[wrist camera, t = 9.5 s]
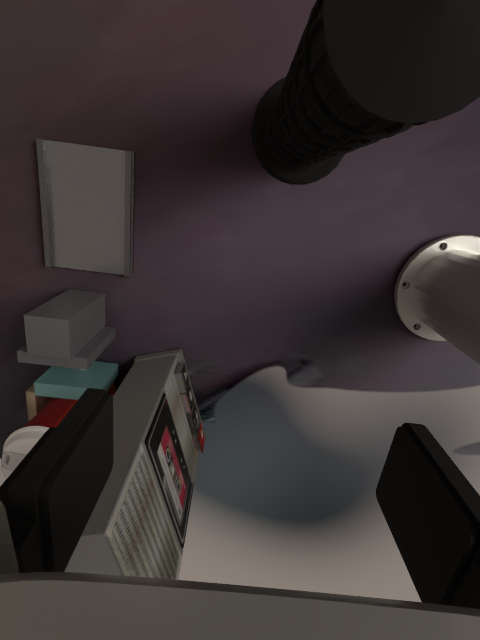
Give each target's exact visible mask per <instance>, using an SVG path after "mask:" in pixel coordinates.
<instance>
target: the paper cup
mask: <svg viewBox="0 0 480 640" xmlns="http://www.w3.org/2000/svg"><path fill="white" fill-rule="evenodd" d="M107 392H108V395H112V396H114V394H115V393H116V387H115V384H114V382H113V384H112V385H111V387H110V388H109V390H108V391H107ZM77 401H78V400H74V399H64V398H54V399H52V400H51V401H50V402H49V403H48V404H47V405H46V406H45V407H44V408H43V409H42V410H41V411H40V412H39V413H38V414H37V415H36V416H34V417H33V418H32V419H31V420H30V421H29V422H28V423H27V424H26V425H25V426H24V427H23V428H20V429H18V430H16V431H14V432H13V433H12V434H11V435H10V436H9V437H8V438H7V440H6V441H5V444H4V447H3V454H2V461H1V463H2V465H1V469H2V472H3V474H4V476H5V477H6V478H8V477H9V476H10V474H11V473H12V472H13V471H14V470H15V468H16V467H17V466H18V465H19V463H20V462H21V461H22V460H23V459H24V457H25V456H26V455H27V454H28V453H29V451H30V450H31V449H32V448H33V446H34V445H35V444H36V443H37V442H38V440H39V439H40V438H41V437H42V436H43V434H44V433H45V432H46V431H47V430H48V429H49V428H51V427H57V426H58V425H59V423H60V422H61V421H62V419H63V418H64V417H65V416H66V414H67V413H68V412H69V411H70V409H71V408H72V407H73V406H74V404H75V403H76V402H77Z"/></svg>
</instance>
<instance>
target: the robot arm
mask: <svg viewBox="0 0 480 640" xmlns="http://www.w3.org/2000/svg"><path fill="white" fill-rule="evenodd" d="M440 244H441V246H440ZM439 246H440V247H439ZM404 282H405V284H404V285H403V283H404ZM394 305H395V308H396V312H397V314H398V316H399V318H400V320H401V322H402V323H403V324H404V325H405V326H406V327H407V328H408V329H409V330H410V331H412V332H413V333H414V334H416V335H418V336H420V337H422V338H425V339H428V340H432V341H448V342H450V343H451V344H452V345H454V346H455V347H457V348H458V349H459V350H461V351H462V352H464V353H465V354H466V355H468V356H469V357H470V358H472V359H473V360H475V361H476V362H477V363H479V364H480V237H477V236H473V235H466V234H454V235H448V236H444V237H440V238H438V239H436V240H433V241H431V242H429V243H428V244H426V245H425V246H423V247H421V248H420V249H419V250H418V251H417V252H415V253H414V254H413V255H412V256H411V257H410V259H409V260H408V261H407V262H406V264H405V265H404V266H403V268H402V270H401V272H400V274H399V276H398V279H397V282H396V284H395V291H394ZM113 461H114V454H113V396H112V395H108V392H107V390H104V389H95V388H87V389H86V391H85V392H84V393H83V394H82V396H81V397H80V398H79V399H78V401H77V402H76V403H75V404H74V406H73V407H72V408H71V409H70V411H69V412H68V413H67V414H66V416H65V417H64V418H63V419H62V421H61V422H60V423H59V425H58V426H57V427H51V428H49V429H48V430H47V431H46V432H45V433H44V434H43V436H42V437H41V438H40V439H39V440H38V442H37V443H36V444H35V445H34V446H33V448H32V449H31V450H30V451H29V453H28V454H27V455H26V456H25V457H24V459H23V460H22V461H21V462H20V463H19V465H18V466H17V467H16V468H15V470H14V471H13V472H12V473H11V474H10V476H9V477H8V478H7V479H6V480H5V482H4V483H3V484H2V485H1V487H0V640H480V496H479V494H478V493H477V492H476V490H475V489H474V488H473V487H472V485H471V484H470V483H469V482H468V480H467V479H466V478H465V476H464V475H463V474H462V473H461V471H460V470H459V469H458V467H457V466H456V465H455V464H454V462H453V461H452V460H451V458H450V457H449V456H448V455H447V453H446V452H445V451H444V449H443V448H442V447H441V446H440V445H439V443H438V442H437V440H436V439H435V438H434V437H433V435H432V434H431V433H430V432H429V430H428V429H427V428H426V427H425V426H424V425H421V424H413V423H404V424H403V425H402V427H398V428H397V430H396V432H395V435H394V438H393V441H392V444H391V447H390V450H389V453H388V456H387V459H386V462H385V465H384V468H383V471H382V473H381V476H380V479H379V482H378V485H377V489H376V497H377V500H378V503H379V505H380V507H381V510H382V512H383V514H384V516H385V519H386V521H387V524H388V526H389V528H390V530H391V533H392V535H393V537H394V540H395V542H396V544H397V546H398V549H399V551H400V553H401V556H402V558H403V560H404V562H405V565H406V567H407V569H408V572H409V574H410V576H411V578H412V581H413V583H414V585H415V588H416V590H417V592H418V594H419V596H420V599H421V601H422V602H412V601H402V600H390V599H381V598H370V597H360V596H350V595H339V594H329V593H318V592H308V591H297V590H286V589H275V588H263V587H252V586H241V585H230V584H218V583H205V582H195V581H182V580H172V579H160V578H148V577H136V576H122V575H106V574H91V573H76V572H64V571H65V569H66V567H67V565H68V563H69V561H70V559H71V557H72V554H73V552H74V550H75V548H76V546H77V544H78V542H79V540H80V537H81V535H82V533H83V531H84V529H85V527H86V525H87V523H88V520H89V518H90V516H91V514H92V512H93V510H94V508H95V506H96V503H97V501H98V499H99V497H100V495H101V493H102V491H103V489H104V486H105V484H106V482H107V480H108V478H109V476H110V474H111V471H112V467H113Z"/></svg>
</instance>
